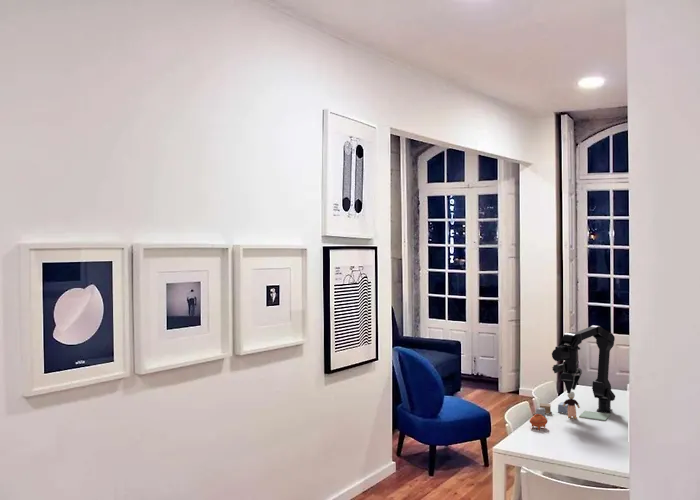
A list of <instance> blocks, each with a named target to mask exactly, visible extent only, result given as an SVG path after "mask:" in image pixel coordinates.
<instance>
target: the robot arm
mask: <svg viewBox="0 0 700 500" xmlns="http://www.w3.org/2000/svg"><path fill="white" fill-rule="evenodd" d="M591 337H593V338H594V339H595V344H596V346H597V347H598V349H599V350H598V360H597V361H598V363H597V364H598V366H597V378H595V380H593V381H592V387H591V389H592V393H593V396H594V398H595V399H598V400H597V401H598V402H597V403H598V404H597V405H598V408H597V409H596V412H598V413H605V414H611V413H612V412H613V409H612V408H611V406H612V405H611V403H612V402H614V401H615V400H616V394H615V393H614V392H613V391H612V385H611V382H610V381H609V367H610V354H611V353H610V352H611V350H612V348H613V347H614V346H615V341H616V340H615V335H614V334H613V333H612V332H610V331H609V330H606V329H604V328H603V327H602V326H601V325H596V324H595V325H594V324H592V325H590V326H589V327H586V328H582V329H581V330H578V331H573V332H572V331H571V332H565V333H564V334H563V336H562V338H561V340H560V342H559V343H558V346H555V349H553V350H552V352H551V356H552V357H551V358H552V359H553V361H555V362H561V361H562V363H561V364H558V363H556V364H553V366H552V367H551V368H552V372H553V373H554V374H557V373H560V372H561V373H560V374H559V380H560V381H561V382H563V383H564V385H565V390H566V393H567V394H568V393H569V394H570V392H572V391H575V390H576V387H577V386H578V383H579V381H580V379H581V377H582V375H583V370H582V369H581V368H580V367H578V365H579V361H578V351H579V350H581V347H580V346H579V345H580V344H582V342H583V341H585V340H587V339H589V338H591Z"/></svg>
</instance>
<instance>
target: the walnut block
mask: <svg viewBox="0 0 700 500" xmlns="http://www.w3.org/2000/svg"><path fill="white" fill-rule="evenodd" d="M551 404H552V403H539V408H545V413H550V414H552V413H551V407H552V405H551Z"/></svg>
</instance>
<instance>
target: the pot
mask: <svg viewBox="0 0 700 500" xmlns="http://www.w3.org/2000/svg"><path fill="white" fill-rule="evenodd" d="M529 423H530V424H531V427H532V428H534V427H536V428H537V430H539V431H540V430H541V428H542V427H544V429H545V427H546V425H547V424H548V419H547V418H546V416H545V417H544V416H542V415H541V414H536V413H534V414H533V416H532V417H530V419H529Z"/></svg>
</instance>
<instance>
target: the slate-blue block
mask: <svg viewBox="0 0 700 500" xmlns="http://www.w3.org/2000/svg"><path fill="white" fill-rule="evenodd" d="M564 402H565V401H562V402H560V403H558V405H557V412H558V413H559V412H563V413H562V414H568V404H566V405H565V407H563V404H564Z"/></svg>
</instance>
